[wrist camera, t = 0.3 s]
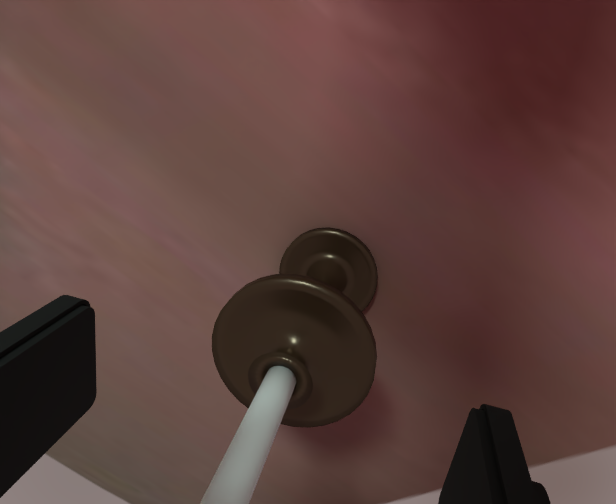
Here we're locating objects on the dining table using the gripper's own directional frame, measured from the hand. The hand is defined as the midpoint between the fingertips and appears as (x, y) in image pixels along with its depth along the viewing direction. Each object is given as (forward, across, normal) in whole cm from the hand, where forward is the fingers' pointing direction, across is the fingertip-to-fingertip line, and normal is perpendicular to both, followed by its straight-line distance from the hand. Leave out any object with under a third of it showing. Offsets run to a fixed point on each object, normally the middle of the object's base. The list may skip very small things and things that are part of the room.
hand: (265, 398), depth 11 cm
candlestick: (+31, +2, +10) cm, 32 cm away
